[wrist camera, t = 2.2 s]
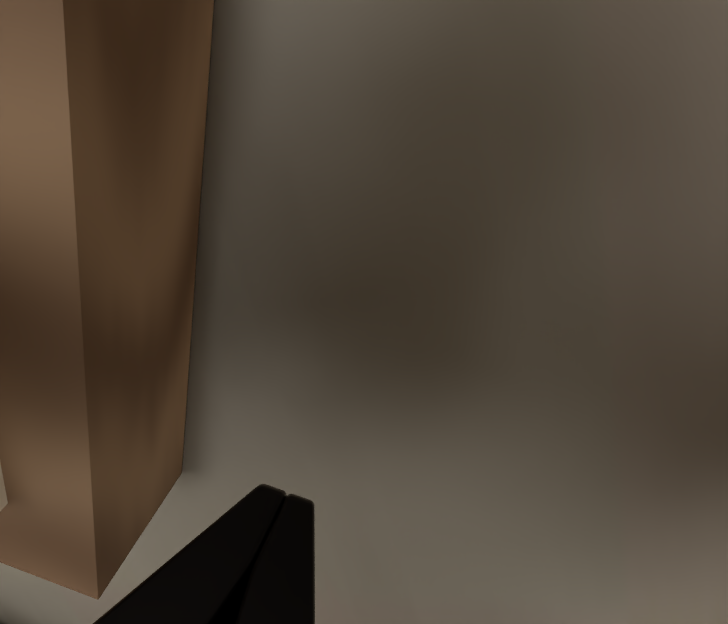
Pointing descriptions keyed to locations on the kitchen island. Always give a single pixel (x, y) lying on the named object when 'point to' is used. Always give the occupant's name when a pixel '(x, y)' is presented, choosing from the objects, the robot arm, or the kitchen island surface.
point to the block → (2, 491)
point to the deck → (96, 272)
